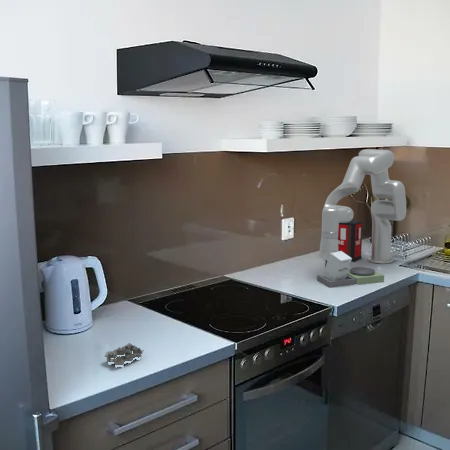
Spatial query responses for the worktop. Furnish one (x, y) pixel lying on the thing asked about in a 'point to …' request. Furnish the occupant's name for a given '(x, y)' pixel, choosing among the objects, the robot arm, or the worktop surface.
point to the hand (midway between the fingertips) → (328, 274)
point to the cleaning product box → (350, 239)
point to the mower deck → (355, 277)
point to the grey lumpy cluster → (121, 351)
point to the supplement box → (337, 266)
